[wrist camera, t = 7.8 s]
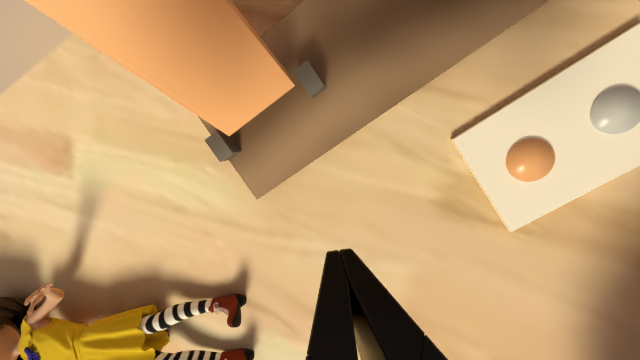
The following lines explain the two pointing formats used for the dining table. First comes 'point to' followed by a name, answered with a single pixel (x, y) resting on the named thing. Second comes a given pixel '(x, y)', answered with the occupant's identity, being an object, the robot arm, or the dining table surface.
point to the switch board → (353, 73)
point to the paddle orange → (183, 52)
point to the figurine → (105, 331)
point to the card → (560, 135)
